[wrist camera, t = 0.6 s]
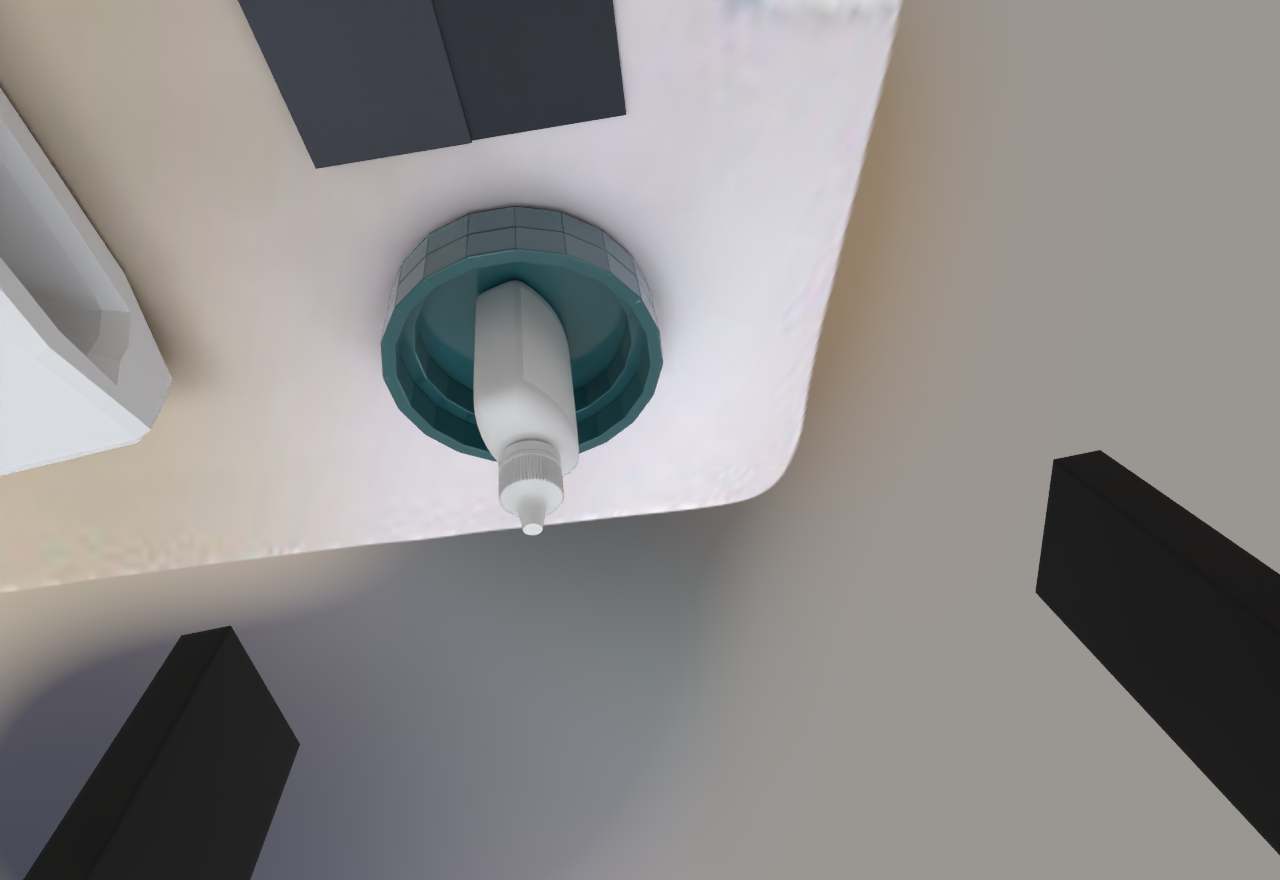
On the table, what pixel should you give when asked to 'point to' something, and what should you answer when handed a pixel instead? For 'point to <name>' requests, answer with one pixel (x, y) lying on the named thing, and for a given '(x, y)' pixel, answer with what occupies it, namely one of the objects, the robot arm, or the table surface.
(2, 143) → the document scanner
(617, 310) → the bowl
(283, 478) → the table surface
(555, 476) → the eye dropper bottle
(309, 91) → the napkin
